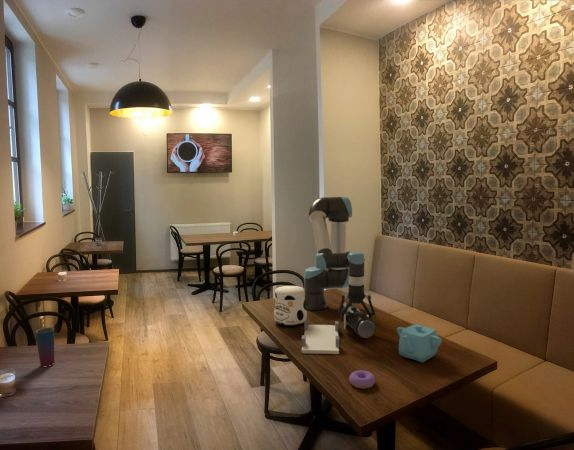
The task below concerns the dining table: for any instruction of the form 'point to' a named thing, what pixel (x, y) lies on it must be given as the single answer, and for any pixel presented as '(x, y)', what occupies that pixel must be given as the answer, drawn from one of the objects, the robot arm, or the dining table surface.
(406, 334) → the teapot
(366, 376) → the donut
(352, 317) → the muzzle brake
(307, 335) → the mounting board
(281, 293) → the milk container
